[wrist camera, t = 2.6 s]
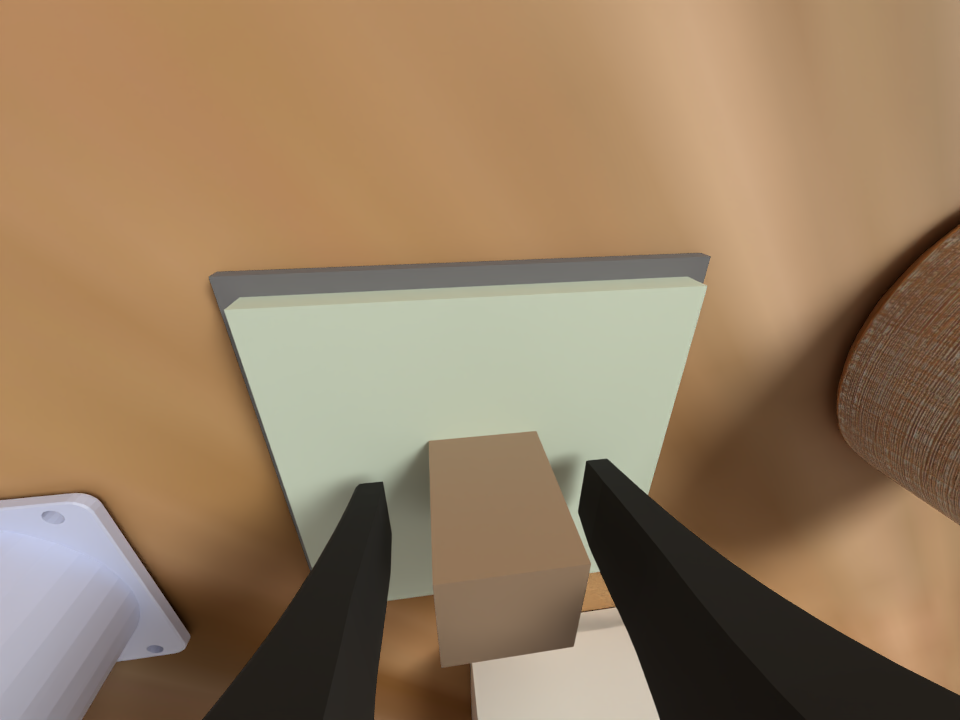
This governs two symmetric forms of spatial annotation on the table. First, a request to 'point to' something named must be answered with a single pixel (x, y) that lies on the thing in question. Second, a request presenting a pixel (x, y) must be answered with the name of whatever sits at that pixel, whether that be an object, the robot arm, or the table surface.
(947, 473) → the planter
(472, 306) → the lid
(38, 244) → the table surface
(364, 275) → the mat
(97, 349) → the table surface
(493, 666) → the beige bevelled block
